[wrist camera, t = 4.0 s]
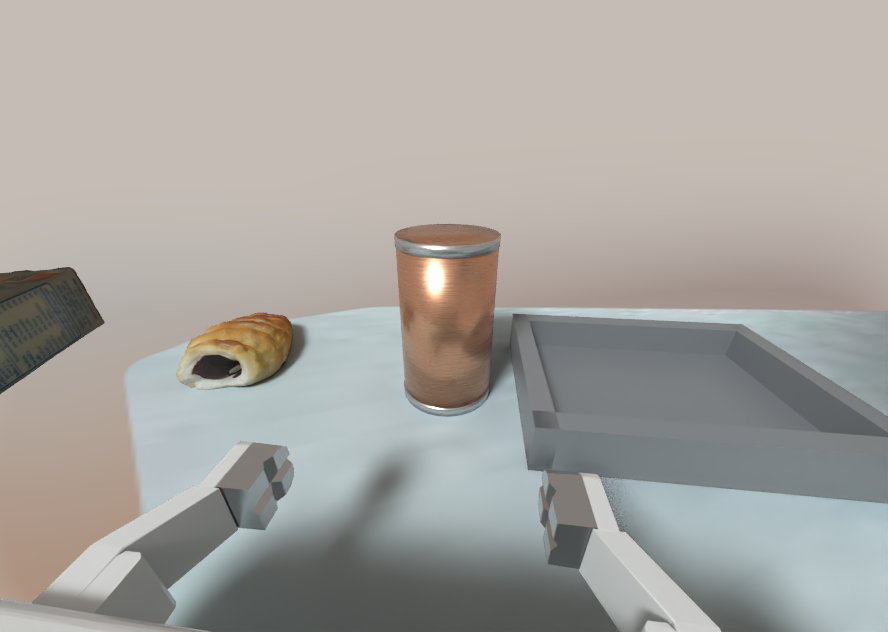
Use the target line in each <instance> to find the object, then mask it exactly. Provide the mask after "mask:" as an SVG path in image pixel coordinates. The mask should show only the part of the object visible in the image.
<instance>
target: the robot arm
mask: <svg viewBox="0 0 888 632" xmlns="http://www.w3.org/2000/svg"><path fill="white" fill-rule="evenodd" d="M288 455H289V451H288V449H287V447H286V446H278V445H270V444H262V443H253V442H243V441H240V442H238V443H237V444H235V445H234V446H233V447H232V448H231V449H230V451H229V452H228V453H227V454H226V455H225V456H224V457H223V458H222V460H221V461H220V462H219V463H218V464H217V465H216V466H215V467H214V469H213V470H212V471H211V472H210V473H209V474H208V475H207V477H206V478H205V479H204V480H203V481H202V482H201V483H200V484H199V486H192V487H190V488H189V489H187V490H185V491H183V492H182V493H180V494H178V495H176V496H175V497H173V498H171V499H169V500H168V501H166V502H164V503H163V504H161V505H159V506H157V507H156V508H154V509H152V510H150V511H149V512H147V513H145V514H143V515H142V516H140V517H138V518H137V519H135V520H133V521H132V522H130V523H128V524H126V525H124V526H123V527H121V528H119V529H118V530H116V531H114V532H112V533H111V534H109V535H107V536H105V537H104V538H102V539H100V540H98V541H97V542H95V543H94V544H92V545H91V546H90V547H89V548H88V549H87V550H86V551H85V552H84V553H83V554H82V555H81V556H80V557H78V558H77V559H76V560H75V561H74V562H73V563H72V564H71V565H70V566H69V567H68V568H67V569H66V570H65V571H64V572H63V573H62V574H61V575H60V576H59V577H58V578H57V579H56V580H55V581H54V582H53V583H52V584H51V585H50V586H49V587H48V588H47V589H46V590H45V591H44V592H43V593H42V594H41V595H40V596H38V597H37V598H36V599H35V600H34V601H33V602H32V603H26V602H20V601H13V600H7V599H1V598H0V632H211V631H205V630H198V629H192V628H186V627H179V626H173V625H166V624H165V622H166V621H167V619H168V618H169V616H170V615H171V613H172V612H173V610H174V609H175V607H176V601H175V599H174V598H173V597H172V595H171V594H170V593H169V591H168V590H167V589H168V588H170V587H171V586H172V585H173V584H174V583H175V582H177V581H178V580H179V579H180V578H181V577H183V576H184V575H185V574H186V573H187V572H188V571H190V570H191V569H192V568H193V567H194V566H196V565H197V564H198V563H199V562H200V561H202V560H203V559H204V558H205V557H206V556H207V555H209V554H210V553H211V552H212V551H213V550H215V549H216V548H217V547H218V546H219V545H220V544H222V543H223V542H224V541H225V540H226V539H228V538H229V537H230V536H231V535H232V534H233V533H235V532H236V531H237V530H238V528H246V529H257V530H265V529H266V527H267V526H268V524H269V522H270V521H271V519H272V517H273V516H274V514H275V512H276V511H277V509H278V506H277V501H278V500H279V499H281V498H282V497H283V496H285V495H286V494H287V492H288V490H289V488H290V487H291V484H292V480H293V477H294V468H293V464H292V463H291V462H290V461H289V460H288V459H287V457H288ZM542 482H543V486H542V487H540V490H539V503H538V506H539V516H540V522H541V524H542V525H543V526H544V527H545V532H544V536H543V541H544V547H545V553H546V559H547V564H549V565H556V566H562V567H569V568H576V569H579V572H580V573H581V575H582V576H583V578H584V579H585V581H586V582H587V584H588V585H589V587H590V588H591V590H592V591H593V593H594V594H595V596H596V597H597V598H598V600H599V601H600V603H601V604H602V606H603V607H604V609H605V610H606V612H607V613H608V615H609V616H610V618H611V619H612V621H613V622H614V624H615V625H616V627H617V628H618V630H619V631H620V632H721V630H720V628H719V627H718V626H717V625H716V624H715V623H714V622H713V621H712V620H711V619H710V618H709V617H708V616H707V615H706V614H705V613H704V612H703V611H702V610H701V609H700V608H699V607H698V606H697V605H696V604H695V603H694V602H693V601H692V600H691V599H690V598H689V596H688V595H687V594H686V593H685V592H684V591H683V590H682V589H681V588H680V587H679V586H678V585H677V584H676V583H675V582H674V581H673V580H672V579H671V578H670V577H669V576H668V575H667V574H666V573H665V572H664V571H663V570H662V569H661V568H660V567H659V566H658V565H657V564H656V563H655V562H654V561H653V560H652V558H651V557H650V556H649V555H648V554H647V553H646V552H645V551H644V550H643V549H642V548H641V547H640V546H639V545H638V544H637V543H636V542H635V541H634V540H633V539H632V538H631V537H630V536H629V535H628V534H627V533H626V532H621V531H620V530H619V527H618V524H617V522H616V519H615V516H614V514H613V511H612V508H611V506H610V503H609V500H608V498H607V495H606V492H605V490H604V487H603V484H602V482H601V479H600V477H599V476H598V475H597V474H590V473H578V472H571V471H558V470H546V469H545V470H544V471H543V474H542Z"/></svg>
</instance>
